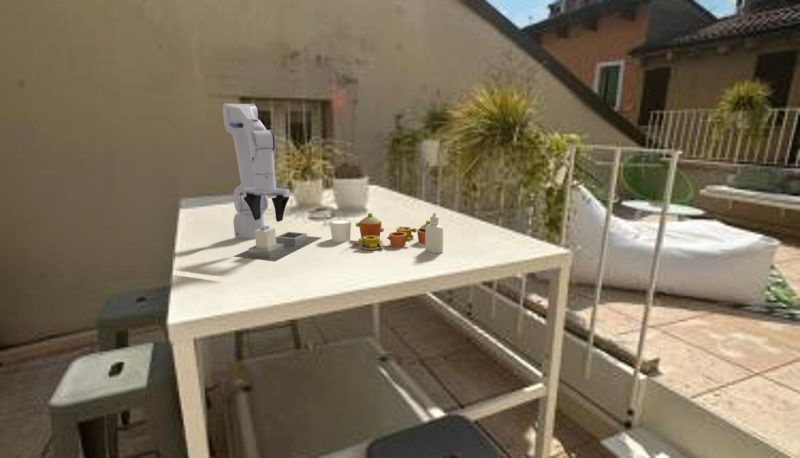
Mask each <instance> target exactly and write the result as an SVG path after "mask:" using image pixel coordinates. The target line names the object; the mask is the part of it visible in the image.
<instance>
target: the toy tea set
mask: <svg viewBox="0 0 800 458" xmlns="http://www.w3.org/2000/svg"><path fill="white" fill-rule="evenodd" d="M428 224H430V220H426V221H425V224H423V225H421V226H420V227H419V228H418V229H417V228H416V227H410V226H398V227H396V231H393V232H389V233H388V236H387V237H386V239H387V240H389V242H390V243H389V244H390V247H392V248H404V247H405V246H406V243H407V242H409V243H410V242H412V239H414V235H413V234H412V233H416V234H417V240H418V244H421V245H425V228H426V226H427V225H428ZM355 227H357V228H359V232H360V238H358V240H357V241H358V243H359V244H361V245H360V248H361V249H363V250H365V251H376V250H380V249H382V248H385V245H384V243H383V240H380V239H381V233H383V232H384V231H385V229H384V227H382V221H381V220H380V219H379V218H377V217H376V216H373V213H372V212H369V213H368V214H367V216H364V217H363V218H362V219H361V220H359V222H356V223H355Z"/></svg>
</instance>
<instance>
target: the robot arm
mask: <svg viewBox="0 0 800 458" xmlns="http://www.w3.org/2000/svg"><path fill="white" fill-rule="evenodd" d="M222 116H223V124H224V128H225V131H226V132H227V133H229V134H231V136H232V139H233V142H234V149H235V154H236V160H237V167H238V172H239V173H238V174H239V179H240V184H239V185H237V187H236V188H235V189H234V191H233V202H234V203H233V204H234V209H235V211H236V213H235V215H234V217H233V228H234V231H233V232H234V238H233V240H234V239H237V238H243V239H248V240H249V239H253V240H254V239H256V238H255V230H258V229H260V228H261V227H263V226H266V224H265V213H266V210H267V209H268V208H269V199H268V197H272V198H271V201H272V204H273V207H274V213H275V221H276V222H277V223H279V222H282V221H283V220H284V215H285V210H286V206H287V204H288V201H289V200H290V196H291V192H290V191H291V190H290V189H288V188H287V189H285V188H279V187H277V181H276V173H275V172H276V169H275V168H276V167H275V156H274V151H275V150H276V142H277V141H276V135H275V133H274V132H275V131H273V129H267V128H266V127H265V125H264V124H263V123H262V121H261V120H260V119H259V118H258V117H259V113H258V108H257V106H256V105H255V103H227V102H225V103H224V104H223V105H222Z"/></svg>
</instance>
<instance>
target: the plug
mask: <svg viewBox="0 0 800 458" xmlns="http://www.w3.org/2000/svg"><path fill="white" fill-rule="evenodd" d="M276 237H277V236H276V228H275V227H270V226H269V225H265V226H263V227H261V228H260V229H258V230H255V238H254V239H255V245H256V248H259V249H268V250H269V249H271V248H273V247H275V246H276Z"/></svg>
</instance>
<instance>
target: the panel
mask: <svg viewBox="0 0 800 458" xmlns="http://www.w3.org/2000/svg"><path fill="white" fill-rule="evenodd" d="M321 239H322V237H319V236H308V233H305V232H295V231H287V232H285V233H282V234H279V235H278V236H276V246H275V247H273V248H271V249H269V250H268V249H259V248H256V244H255V245H254V246H251V247H248V249H247V250H245V251H242V252H241V253H238V254H236V255H232V256H233V257H234V258H242V259H251V260H260V261H267V262H276V261H279V260H281V259H282V258H285V257H287V256H288V255H291V254H293V253H295V252H297V251H299V250H300V249H303V248H304V247H307V246H309V245H311V244H312V243H315V242H317V241H318V240H321Z"/></svg>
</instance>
